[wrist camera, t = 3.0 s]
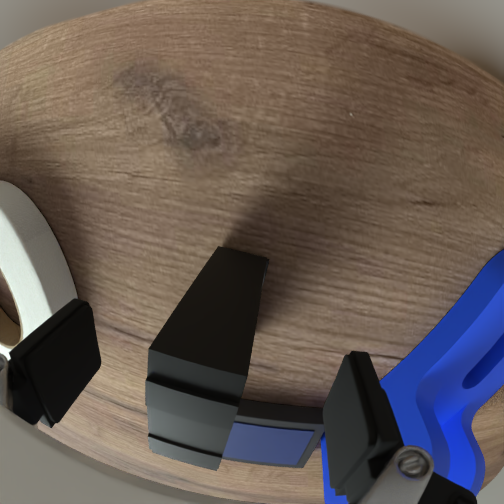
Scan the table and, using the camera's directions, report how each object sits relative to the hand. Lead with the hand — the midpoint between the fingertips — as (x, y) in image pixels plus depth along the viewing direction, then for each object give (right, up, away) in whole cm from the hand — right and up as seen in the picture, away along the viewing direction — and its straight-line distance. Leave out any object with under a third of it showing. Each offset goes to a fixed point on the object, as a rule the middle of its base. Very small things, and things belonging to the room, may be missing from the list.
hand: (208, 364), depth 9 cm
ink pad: (+1, -8, +7) cm, 11 cm away
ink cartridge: (+1, +2, +4) cm, 5 cm away
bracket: (+15, -3, +5) cm, 16 cm away
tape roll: (-16, +2, +6) cm, 18 cm away
